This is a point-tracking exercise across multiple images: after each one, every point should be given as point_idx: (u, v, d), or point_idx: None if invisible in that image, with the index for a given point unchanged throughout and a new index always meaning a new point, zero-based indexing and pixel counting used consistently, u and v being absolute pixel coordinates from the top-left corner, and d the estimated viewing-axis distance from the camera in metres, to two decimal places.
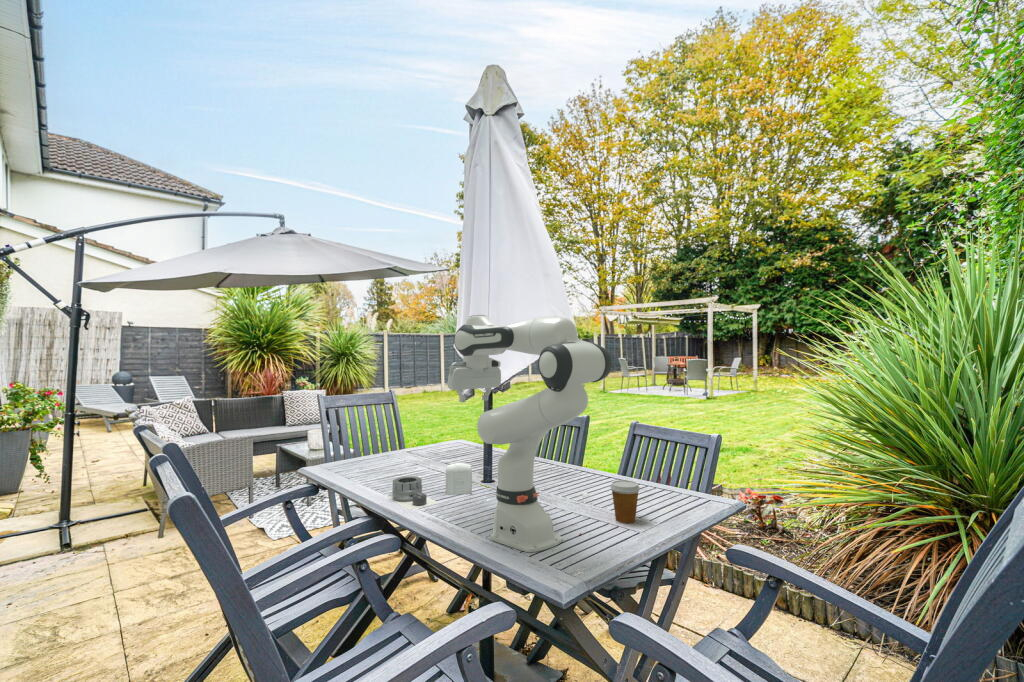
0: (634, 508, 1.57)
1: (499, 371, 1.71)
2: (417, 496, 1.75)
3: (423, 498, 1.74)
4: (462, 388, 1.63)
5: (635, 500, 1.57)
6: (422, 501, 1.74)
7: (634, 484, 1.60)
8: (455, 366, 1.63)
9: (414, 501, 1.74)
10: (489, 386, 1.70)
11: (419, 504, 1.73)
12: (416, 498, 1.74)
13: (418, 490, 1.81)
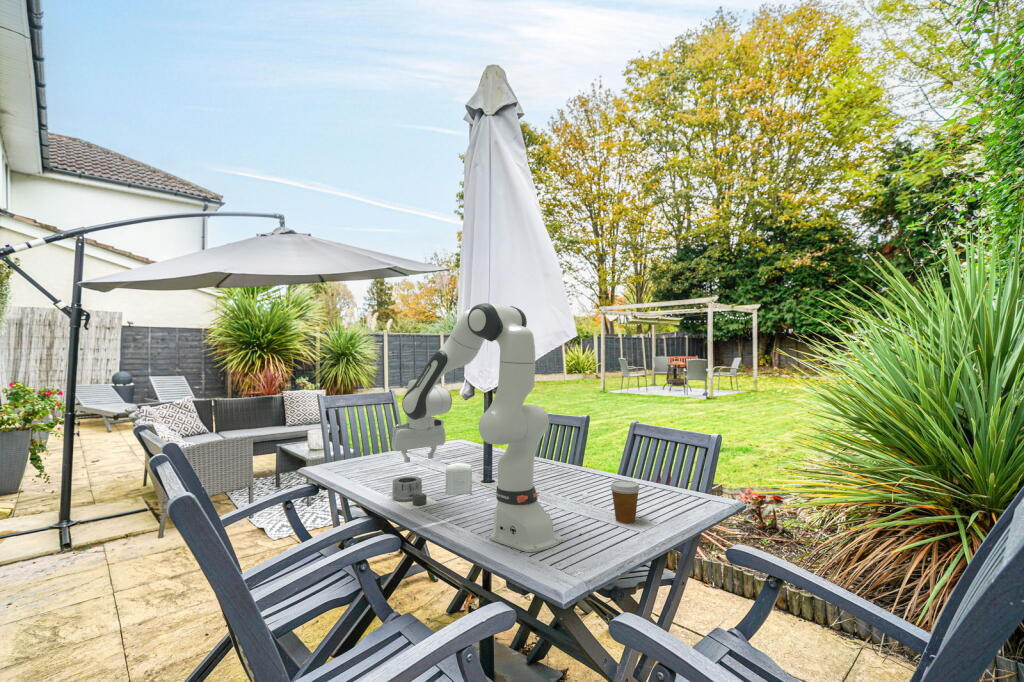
0: (634, 508, 1.57)
1: (443, 429, 1.80)
2: (417, 496, 1.75)
3: (423, 498, 1.74)
4: (405, 449, 1.71)
5: (635, 500, 1.57)
6: (422, 501, 1.74)
7: (634, 484, 1.60)
8: (398, 428, 1.71)
9: (414, 501, 1.74)
10: (433, 444, 1.78)
11: (419, 504, 1.73)
12: (416, 498, 1.74)
13: (418, 490, 1.81)
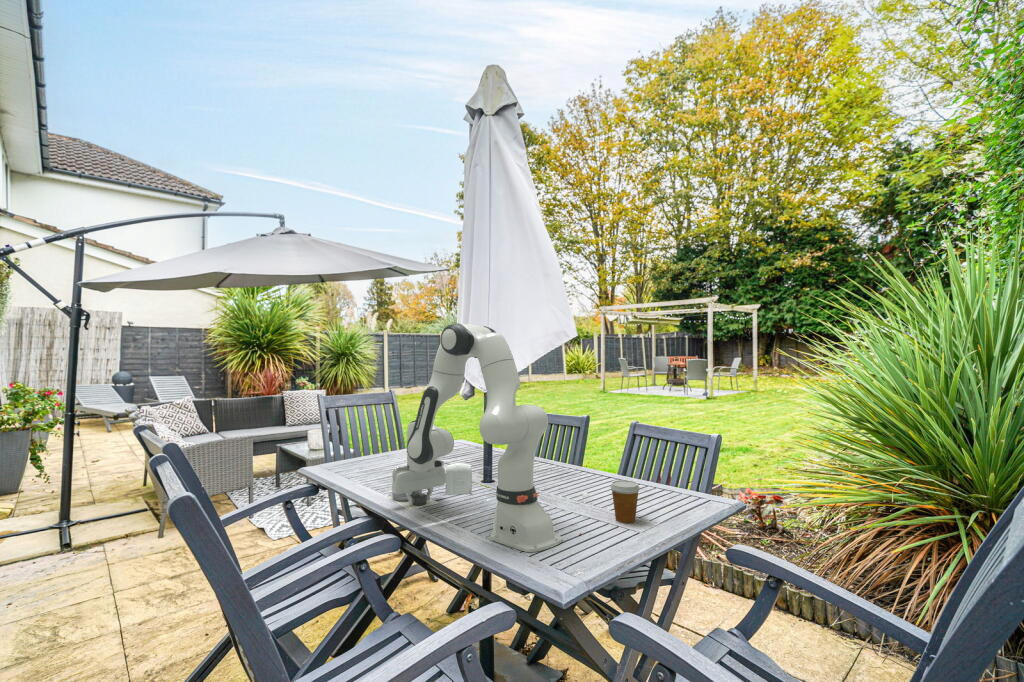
0: (634, 508, 1.57)
1: (443, 470, 1.79)
2: (417, 496, 1.75)
3: (423, 498, 1.74)
4: (406, 491, 1.71)
5: (635, 500, 1.57)
6: (422, 501, 1.74)
7: (634, 484, 1.60)
8: (398, 471, 1.71)
9: (414, 501, 1.74)
10: (434, 486, 1.78)
11: (419, 504, 1.73)
12: (416, 498, 1.74)
13: (418, 490, 1.81)
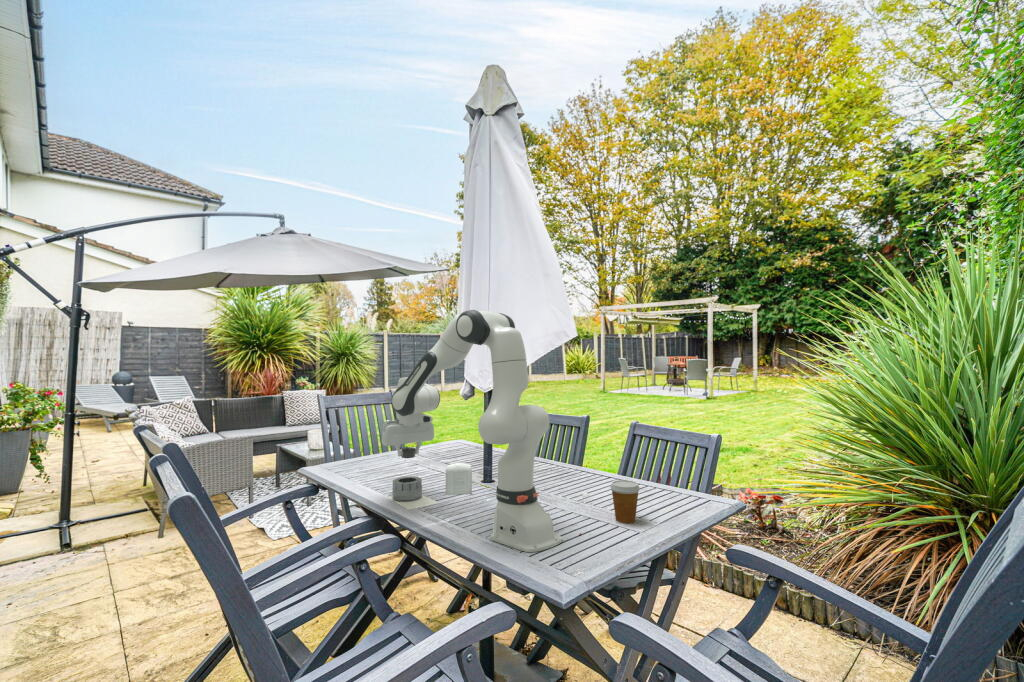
0: (634, 508, 1.57)
1: (432, 425, 1.86)
2: (406, 449, 1.82)
3: (412, 451, 1.81)
4: (395, 444, 1.78)
5: (635, 500, 1.57)
6: (411, 454, 1.81)
7: (634, 484, 1.60)
8: (388, 424, 1.77)
9: (403, 453, 1.81)
10: (422, 440, 1.85)
11: (408, 456, 1.80)
12: (405, 451, 1.80)
13: (418, 490, 1.81)
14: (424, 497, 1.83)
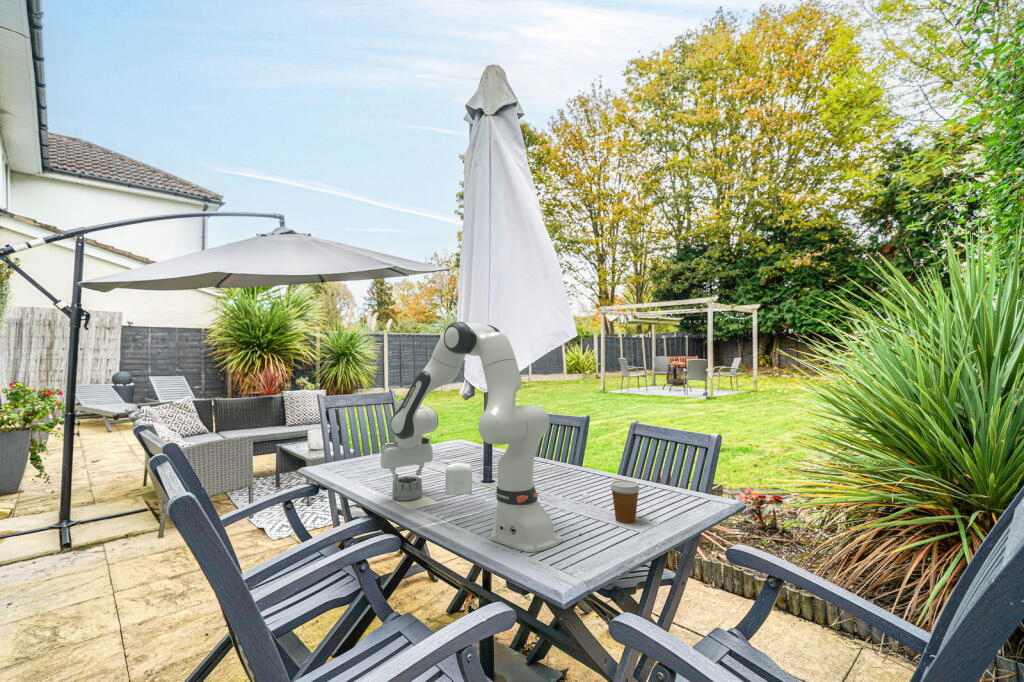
0: (634, 508, 1.57)
1: (430, 447, 1.87)
2: (405, 479, 1.83)
3: (411, 481, 1.82)
4: (394, 466, 1.79)
5: (635, 500, 1.57)
6: None
7: (634, 484, 1.60)
8: (386, 447, 1.79)
9: None
10: (421, 462, 1.86)
11: None
12: (404, 481, 1.82)
13: (418, 490, 1.81)
14: (424, 497, 1.83)
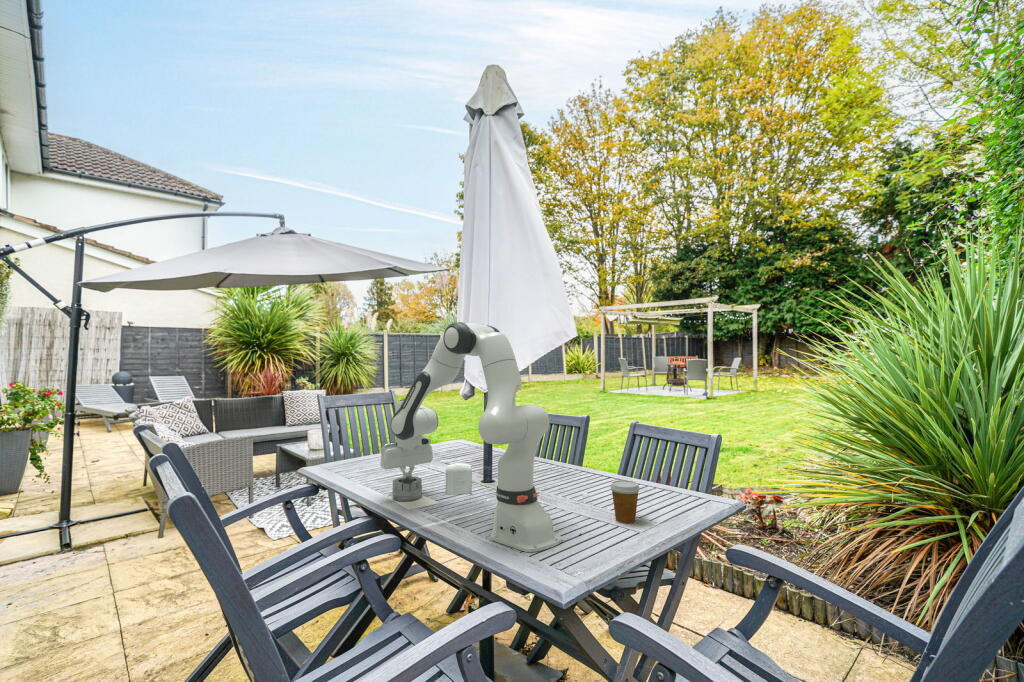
0: (634, 508, 1.57)
1: (430, 447, 1.88)
2: (405, 479, 1.83)
3: (411, 481, 1.82)
4: (394, 467, 1.79)
5: (635, 500, 1.57)
6: None
7: (634, 484, 1.60)
8: (386, 447, 1.79)
9: None
10: (421, 462, 1.86)
11: None
12: (404, 481, 1.82)
13: (418, 490, 1.81)
14: (424, 497, 1.83)
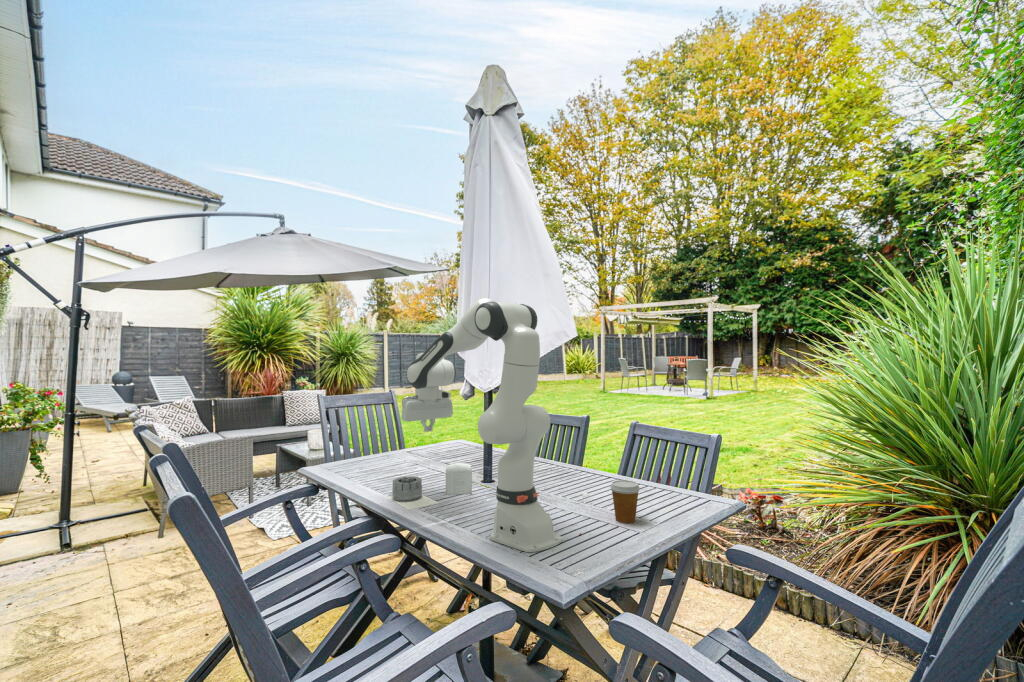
0: (634, 508, 1.57)
1: (450, 402, 1.87)
2: (405, 479, 1.83)
3: (411, 481, 1.82)
4: (415, 419, 1.78)
5: (635, 500, 1.57)
6: None
7: (634, 484, 1.60)
8: (407, 399, 1.78)
9: None
10: (442, 416, 1.85)
11: None
12: (404, 481, 1.82)
13: (418, 490, 1.81)
14: (424, 497, 1.83)
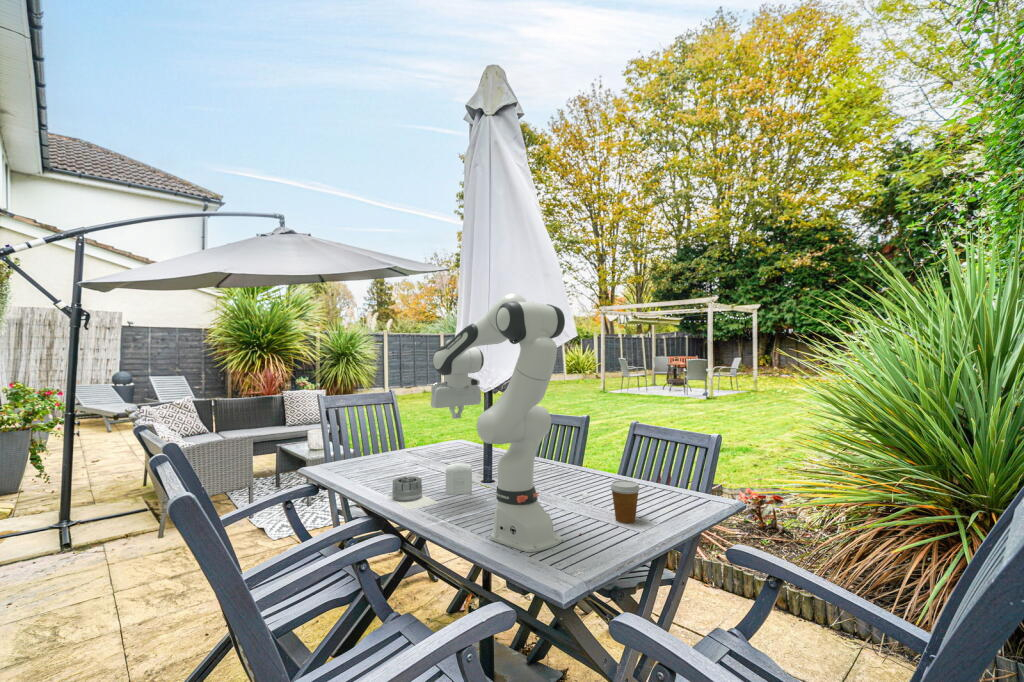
0: (634, 508, 1.57)
1: (479, 389, 1.85)
2: (405, 479, 1.83)
3: (411, 481, 1.82)
4: (444, 406, 1.77)
5: (635, 500, 1.57)
6: None
7: (634, 484, 1.60)
8: (437, 386, 1.76)
9: None
10: (470, 403, 1.83)
11: None
12: (404, 481, 1.82)
13: (418, 490, 1.81)
14: (424, 497, 1.83)
